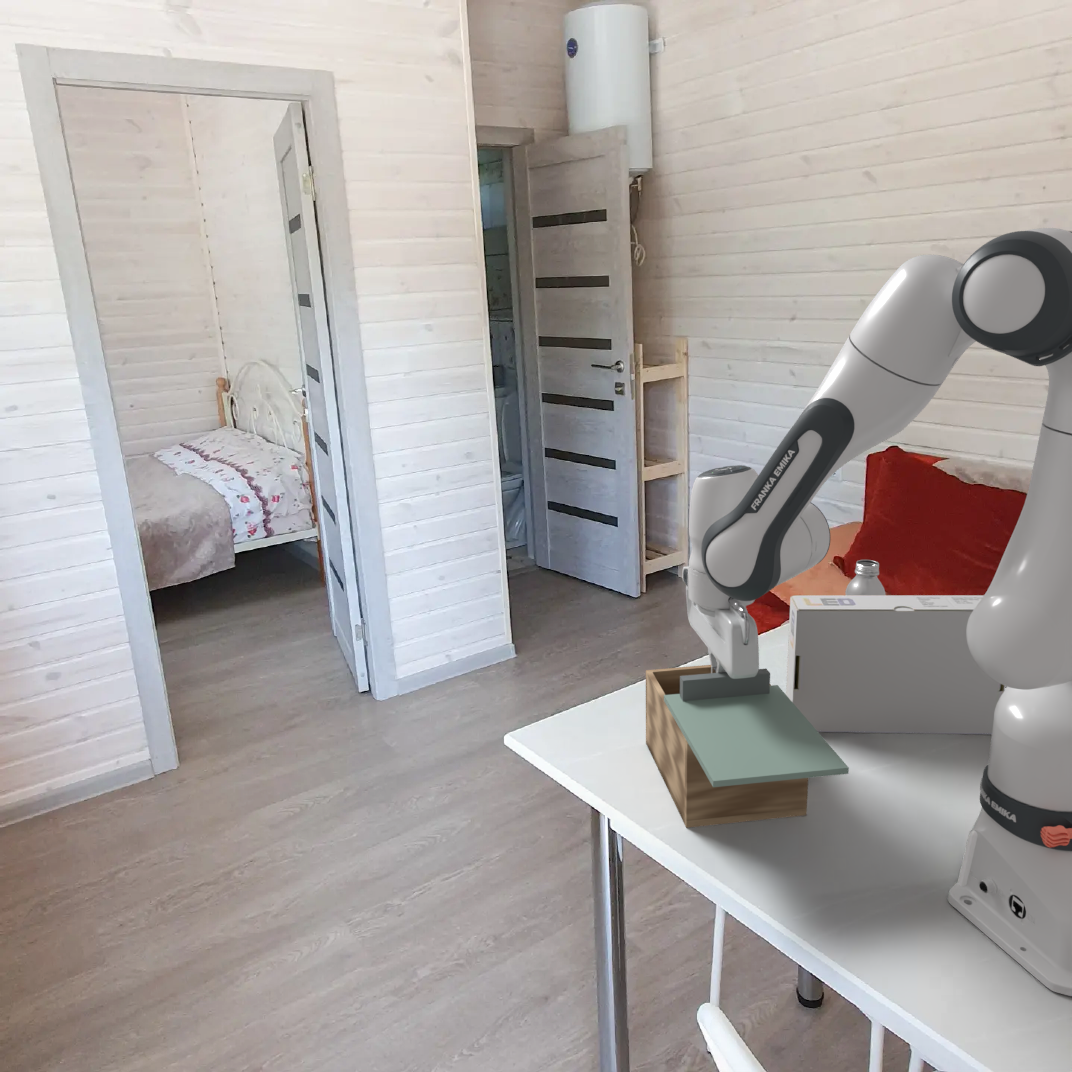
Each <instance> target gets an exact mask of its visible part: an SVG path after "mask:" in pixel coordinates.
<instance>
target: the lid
mask: <svg viewBox="0 0 1072 1072" xmlns="http://www.w3.org/2000/svg"><path fill="white" fill-rule="evenodd" d="M770 684H771V672H770V671H769V670H768V668H759V670H758V673H757V675H756V676H755V677H750V678H739V679H733V678H731V677H730V676H729V675H728V673H727V672H721V673H709V674H697V675H686V676H680V694H671V695H664V702H665V703H666V705H667V707H668V709H669V710H670V712H671V714H672V716H673V717H674V719H675V721H676V723H677V725H678V726H679V728H680V730H681V732H682V733H683V735H684V737H685V739H686V740H687V742H688V744H689V746H690V747H691V749H692V751H693V753H694V754H695V756H696V758H697V760H698V762H699V763H700V765H701V767H702V769H703V770H704V772H705V774H706V776H707V777H708V779H709V781H710V783H711V784H712V786H713V787H722V786H732V785H742V784H752V783H762V782H771V781H781V780H791V779H801V778H808V779H809V778H821V777H828V776H830V777H831V776H840V775H848V774H849V769H850V767H849V766H848V765H847V764H846V763H845V761H844V760H843V759H842V758H841V757H840V756H839V754H838V753H837V752H836V751H835V750H834V749H833V748H832V746H831V744H829V743H828V742H827V741H826V739H825V738H824V737H823V736H822V735H821V734H820V732H818V731H817V730H816V729H815V728H814V727H813V726H812V724H811V723H810V722H809V721H808V720H807V719H806V717H805V716H804V715H803V714H802V713H801V712H800V711H799V709H798V708H797V707H796V706H795V705H794V704H793V702H792V701H791V700H790V699H789V698H788V697H787V695H786V692H784V691H783V689H782V688H780V686H779V685H778V684H774V685H773V684H772V685H771V686H770Z"/></svg>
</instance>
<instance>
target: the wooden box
mask: <svg viewBox="0 0 1072 1072" xmlns="http://www.w3.org/2000/svg"><path fill="white" fill-rule="evenodd" d="M709 673H711V664H703V665H701V664H700V665H693V666H682V667H670V668H658V669H656V668H655V669H647V670H645V745H646V747H647V750H648V751H649V753H650V755H651V757H652V758H653V761H654V763H655V765H656V767H657V770H658V771H659V774H660V776H661V778H662V780H663V782H664V785H665V787H666V789H667V791H668V792H669V795H670V796H671V799H672V801H673V803H674V806H675V807H676V809H677V811H678V813H679V816H680V817H681V820H682V822H683V824H684V826H685V828H687V829H688V828H698V827H708V826H715V825H725V824H726V825H727V824H735V823H742V822H743V823H744V822H755V821H764V820H773V819H782V818H784V819H785V818H791V817H801V816H803V817H804V816H807V815H808V814H807V813H808V812H807V811H808V794H809V791H808V790H809V778H801V779H791V780H781V781H771V782H762V783H752V784H742V785H732V786H722V787H713V786H712V784H711V783H710V781H709V779H708V777H707V776H706V774H705V772H704V770H703V769H702V767H701V765H700V763H699V762H698V760H697V758H696V756H695V754H694V753H693V751H692V749H691V747H690V746H689V744H688V742H687V740H686V739H685V737H684V735H683V733H682V732H681V730H680V728H679V726H678V725H677V723H676V721H675V719H674V717H673V716H672V714H671V712H670V710H669V709H668V707H667V705H666V703H665V702H664V695H671V694H680V676H686V675H697V674H709ZM770 686H772V685H771V683H770Z"/></svg>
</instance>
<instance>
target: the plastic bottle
mask: <svg viewBox="0 0 1072 1072" xmlns="http://www.w3.org/2000/svg"><path fill="white" fill-rule="evenodd" d="M879 568H880V563H879V562H878V561H876V560H871V559H860V560H857V561H856V563H855V569H854V573H855V574H856V575H855V576H854V577H853V578H852V579H851V580H850V581H849V583H848V584H847V586H846V589H845V595H886V594H887V593H886V591H885V587H884V585H883V584H882V582H881V581H880V579H879V578H878V576H879V575H880V569H879Z"/></svg>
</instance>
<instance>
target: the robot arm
mask: <svg viewBox="0 0 1072 1072" xmlns="http://www.w3.org/2000/svg"><path fill="white" fill-rule="evenodd" d="M976 342H977V343H978V344H980V345H982V346H984V347H986V348H988V349H991V350H994V351H996V352H999V353H1001V354H1003V355H1004V354H1005V355H1007V356H1010V357H1012V358H1014V359H1017V360H1019V361H1021V362H1023V363H1026V364H1027V365H1031V366H1034V367H1043V366H1045V368H1046V370H1047V375H1048V391H1047V396H1046V402H1045V406H1044V407H1045V408H1044V411H1043V416H1042V421H1041V427H1040V432H1039V437H1038V441H1037V447H1036V453H1035V457H1034V461H1033V466H1032V470H1031V477H1030V481H1029V484H1028V489H1027V490H1028V491H1027V493H1026V497H1025V500H1024V504H1023V507H1022V510H1021V512H1020V515H1019V517H1018V520H1017V522H1016V525H1015V526H1014V529H1013V532H1012V534H1011V537H1010V538H1009V541H1008V543H1007V546H1006V548H1005V549H1004V550H1005V551H1004V552H1003V555H1002V557H1001V560H1000V562H999V564H998V567H997V569H996V572H995V574H994V576H993V578H992V581H991V582H990V585H989V586H988V587H987V591H986V592H984V593H985V594H983V595H984V596H983V598H982V599H981V601H980V602H979V603H978V605H977V606H976V607H975V609H974V610H973V611H972V613H971V615H970V617H969V620H968V623H967V629H966V637H967V643H968V647H969V650H970V653H971V655H972V657H973V659H974V660H975V662H976V663H977V665H978V666H979V667H980V668H981V669H982V671H983V672H985V673H986V674H987V675H988V676H989V677H990V678H992V679H993V680H995V681H996V682H998V683H1000V684H1002V685H1005V690H1004V692H1003V693H1002V695H1001V696H1000V698H999V700H998V702H997V705H996V708H995V712H994V721H993V729H992V735H991V737H990V738H991V740H990V748H989V756H988V764H987V765H986V766H985V767H984V769H983V772H982V778H981V779H980V785H979V794H980V795H979V803H980V805H981V808H980V811H979V814H978V816H977V818H976V820H975V822H974V824H973V826H972V828H971V829H970V831H969V835H968V837H967V842H966V845H965V849H964V854H963V857H962V862H961V866H960V870H959V874H958V879H957V881H956V882H955V883H954V884H953V885H952V887H950V888H949V892H948V894H947V901H948V903H949V904H950V905H951V906H952V907H954V909H955V910H957V911H958V912H959V913H960V914H961V915H962V916H963V917H965V918H966V919H967V920H969V922H970V923H972V924H973V925H974V926H975V927H976V928H977V929H979V930H980V931H981V932H982V933H983V934H984V935H986V936H987V937H988V938H989V939H990V940H991V941H992V942H994V943H995V944H996V945H997V946H998V947H1000V948H1001V949H1002V950H1003V951H1004V952H1005V953H1007V955H1009V956H1010V958H1012V959H1014V960H1015V961H1016V962H1017V963H1018V964H1019V965H1020V966H1022V968H1024V969H1025V970H1026V971H1027V972H1028V973H1030V974H1031V975H1032V976H1033V977H1034V978H1035V979H1036V980H1038V981H1039V983H1041V984H1042V985H1044V987H1046V988H1047V989H1048V990H1050V991H1052V992H1053V993H1058V994H1060V995H1061V994H1062V995H1065V996H1069V997H1072V231H1070V230H1066V229H1061V228H1054V227H1041V228H1032V229H1025V230H1018V231H1012V232H1007V233H1004V234H1000V235H998V236H995V238H992V239H991V240H989V241H987V242H986V243H984V244H983V245H981V246H980V247H978V248H977V249H976V250H975V251H974V252H973V253H971V255H970V256H969V257H968V258H967V259H966V261H965V262H964V263H963V262H961V261H958V260H956V259H955V258H951V257H948V256H945V255H944V256H943V255H939V254H923V255H921V254H920V255H916V256H914V257H910V258H909V259H907V260H906V261H904V262H903V263H902V264H901V265H900V266H899V267H898V268H897V269H896V270H895V271H894V272H893V274H892V275H891V276H890V277H889V278H888V279H887V281H886V282H885V283H884V284H883V286H881V288H880V290H878V292H877V293H876V295H874V297H873V299H872V300H871V301H870V302H869V304H868V305H867V307H866V308H865V309H864V311H863V313H862V314H861V316H860V317H859V319H858V320H857V322H856V324H855V325H854V326H853V328H852V330H851V332H850V333H849V334H848V337H847V339H846V340H845V342H844V344H843V345H842V346H841V348H840V351H839V352H838V354H837V355H836V357H835V359H834V361H833V362H832V364H831V366H830V367H829V369H828V371H827V372H826V374H825V376H824V378H823V380H822V381H821V383H820V384H819V386H818V388H817V389H816V390H815V393H814V394H813V395H812V396H811V398H810V400H809V401H808V402H807V404H806V405H805V407H804V409H803V410H802V412H801V414H800V415H799V417H798V418H797V419H796V421H795V422H794V424H793V425H792V427H791V428H790V429H789V430H788V432H787V433H786V435H785V436H784V437H783V439H782V440H781V442H780V443H779V445H778V446H777V448H776V449H775V450H774V452H773V454H771V456H770V458H769V459H768V461H767V462H766V464H765V465H764V466H763V468H762V470H761V471H760V472H759V474H758V472H757V471H756V470H755V469H754V468H752V467H750V466H747V465H742V464H741V465H740V464H739V465H727V466H723V467H716V468H712V469H709V470H707V471H703V472H701V473H700V474H699V475H698V476H697V477H696V478H695V479H694V482H693V484H692V488H691V492H690V498H689V499H690V500H689V508H688V509H689V510H688V511H689V514H688V535H689V539H690V543H691V551H690V552H691V553H690V556H689V559H688V565H687V566H683V567H682V575H681V578H682V581H683V582H684V584H685V599H686V609H687V610H686V612H687V614H686V615H687V618H688V623H689V624H690V625H689V626H690V627H691V628H692V629H693V631H694V632H695V633H696V634H697V636H699V637H698V638H700V639H701V641H702V642H703V643H704V644H705V646H706V647H707V653H708V657H709V661H710V662H709V663H710V665H711V673H721V672H727V673H728V675H729V676H730V677H731V678H733V679H739V678H750V677H755V676H756V675H757V673H758V670H759V669H760V652H759V651H760V650H759V634H758V626H757V622H756V621H755V619H754V617H752V616H751V615H750V613H748V612H749V611H748V610H747V609H748V608H747V606H749V605H752V604H753V603H754V602H755V600H759V598H761V597H762V596H764V595H765V594H767V593H768V592H770V591H771V590H773V589H774V588H776V587H777V586H779V585H781V584H784V583H786V582H788V581H789V580H791V579H794V578H795V577H797V576H799V575H800V574H802V573H804V572H806V571H808V570H810V569H812V568H814V567H815V566H816V565H818V564H819V563H820V562H822V561H823V560H824V558H825V557H826V556H827V554H828V552H829V549H830V545H831V530H830V526H829V522H828V519H826V518H827V517H825V515H824V513H823V512H822V510H820V508H819V507H818V506H817V505H816V504H814V503H812V500H813V499H814V498H815V496H816V495H817V494H818V492H819V491H820V490H821V488H822V487H823V486H824V484H825V483H826V482H827V481H828V479H830V477H832V476H833V475H834V474H835V473H836V472H837V471H838V470H840V468H842V467H843V466H844V465H846V464H848V463H849V462H850V461H852V460H854V459H855V458H857V457H858V456H860V455H861V454H864V453H865V452H867V451H868V450H871V449H872V448H874V447H876V446H879V444H881V443H884V442H886V441H888V440H889V439H891V438H893V437H895V436H896V435H897V434H899V433H901V432H902V431H904V429H906V427H908V426H909V425H910V424H911V423H912V422H913V421H914V420H915V418H917V417H918V416H919V415H920V414H921V412H922V411H923V410H924V409H925V408H926V407H927V406H928V405H929V403H930V402H931V401H932V400H933V398H934V397H935V396H936V393H937V392H939V389H940V388H941V386H942V385H943V383H944V382H945V381H946V379H947V378H948V377H949V374H950V373H951V371H952V370H953V368H954V367H955V366H956V363H957V362H958V361H959V359H960V358H961V357H962V356H963V354H964V353H965V352H966V351H967V350H968V348H970V347H971V346H972V345H973V344H975V343H976Z"/></svg>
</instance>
